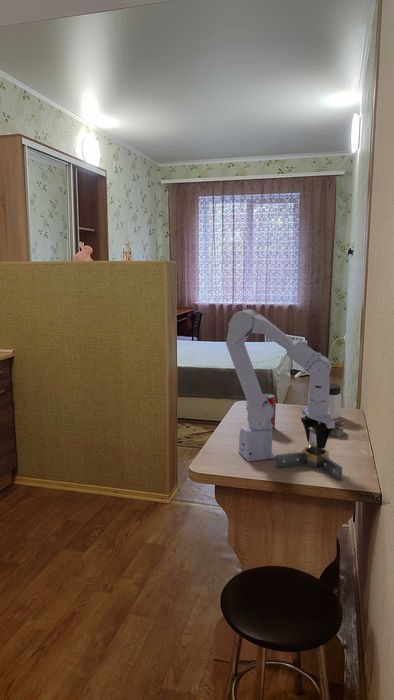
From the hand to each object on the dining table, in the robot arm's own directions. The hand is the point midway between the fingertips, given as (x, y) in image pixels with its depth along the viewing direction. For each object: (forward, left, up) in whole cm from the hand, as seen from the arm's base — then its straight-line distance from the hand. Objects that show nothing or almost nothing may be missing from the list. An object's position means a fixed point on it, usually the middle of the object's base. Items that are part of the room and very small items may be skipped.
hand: (316, 444), depth 145 cm
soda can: (0, +32, -6) cm, 33 cm away
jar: (+29, +38, -6) cm, 48 cm away
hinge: (-4, -4, -6) cm, 8 cm away
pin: (0, 0, -2) cm, 2 cm away
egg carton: (+19, +22, -6) cm, 30 cm away
